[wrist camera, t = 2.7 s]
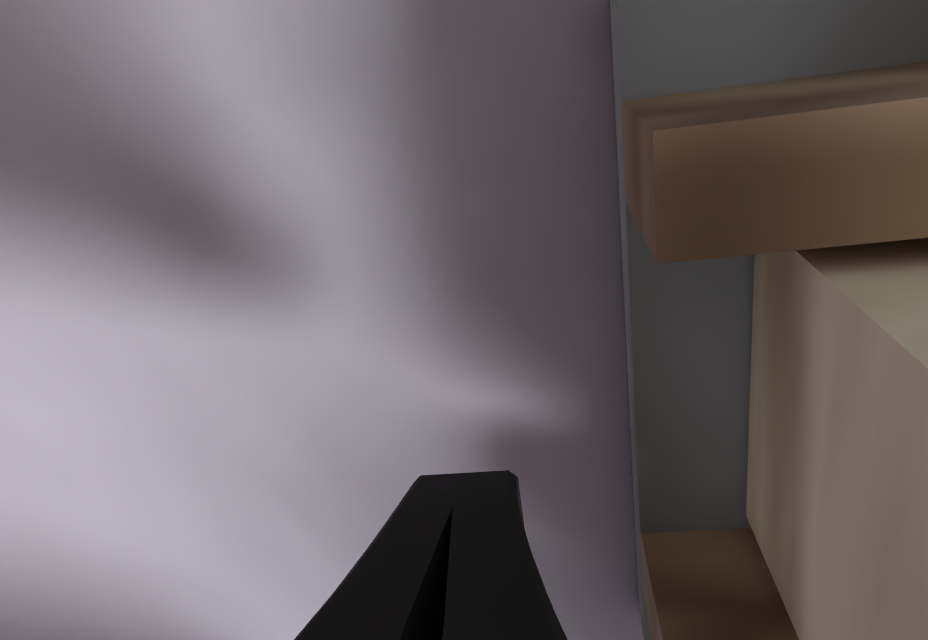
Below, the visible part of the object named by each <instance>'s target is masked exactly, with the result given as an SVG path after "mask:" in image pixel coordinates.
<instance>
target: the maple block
mask: <svg viewBox="0 0 928 640" xmlns="http://www.w3.org/2000/svg"><path fill="white" fill-rule="evenodd" d="M746 517H747V519H748V521H749V524H750V526H751V528H752V531H753V533H754V535H755V538H756V540H757V542H758V545H759V547H760V549H761V552H762V554H763V556H764V559H765V561H766V563H767V566H768V568H769V570H770V573H771V575H772V577H773V580H774V582H775V584H776V587H777V589H778V591H779V594H780V596H781V598H782V601H783V603H784V605H785V608H786V610H787V612H788V615H789V617H790V619H791V622H792V624H793V627H794V629H795V631H796V634H797V636H798V638H799V640H928V238H919V239H909V240H898V241H888V242H878V243H867V244H857V245H847V246H836V247H826V248H816V249H806V250H795V251H785V252H775V253H764V254H754V284H753V315H752V346H751V377H750V408H749V440H748V471H747V502H746Z"/></svg>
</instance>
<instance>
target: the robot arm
mask: <svg viewBox="0 0 928 640" xmlns="http://www.w3.org/2000/svg"><path fill="white" fill-rule="evenodd" d="M294 640H567V638H566V636H565V633H564V631H563V629H562V627H561V625H560V623H559V620H558V618H557V616H556V614H555V611H554V609H553V607H552V604H551V602H550V600H549V597H548V595H547V593H546V590H545V587H544V585H543V582H542V579H541V577H540V574H539V571H538V569H537V566H536V563H535V561H534V558H533V555H532V552H531V549H530V546H529V543H528V540H527V536H526V533H525V529H524V521H523V514H522V506H521V498H520V491H519V483H518V477H517V476H515V475H514V474H513V473H511V472H510V471H509V470H507V471H491V472H474V473H457V474H440V475H423V476H420V477H419V478H418V479H417V480H416V481H415V482H414V483H413V485H412V486H411V487H410V489H409V490H408V492H407V493H406V495H405V496H404V498H403V499H402V500H401V502H400V503H399V505H398V506H397V508H396V509H395V511H394V512H393V513H392V515H391V516H390V518H389V519H388V521H387V522H386V523H385V525H384V526H383V528H382V529H381V530H380V532H379V533H378V535H377V536H376V537H375V539H374V540H373V542H372V543H371V544H370V546H369V547H368V548H367V550H366V551H365V552H364V554H363V555H362V556H361V558H360V559H359V560H358V561H357V563H356V564H355V565H354V567H353V568H352V569H351V571H350V572H349V573H348V575H347V576H346V577H345V579H344V580H343V581H342V582H341V584H340V585H339V586H338V588H337V589H336V590H335V591H334V593H333V594H332V595H331V596H330V598H329V599H328V600H327V601H326V603H325V604H324V605H323V606H322V607H321V608H320V610H319V611H318V612H317V613H316V614H315V616H314V617H313V618H312V619H311V620H310V621H309V623H308V624H307V625H306V626H305V627H304V629H303V630H302V631H301V632H300V633H299V634H298V636H297V637H296V638H295V639H294Z"/></svg>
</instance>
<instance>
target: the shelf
mask: <svg viewBox="0 0 928 640" xmlns="http://www.w3.org/2000/svg"><path fill="white" fill-rule="evenodd" d="M610 16H611V37H612V57H613V78H614V99H615V120H616V141H617V162H618V183H619V203H620V224H621V245H622V266H623V287H624V308H625V328H626V349H627V370H628V391H629V412H630V433H631V453H632V474H633V495H634V516H635V537H636V558H637V578H638V599H639V612H640V617H641V623H642V628H643V634H644V639H645V640H799V638H798V636H797V634H796V631H795V629H794V627H793V624H792V622H791V619H790V617H789V615H788V612H787V610H786V608H785V605H784V603H783V601H782V598H781V596H780V594H779V591H778V589H777V587H776V584H775V582H774V580H773V577H772V575H771V573H770V570H769V568H768V566H767V563H766V561H765V559H764V556H763V554H762V552H761V549H760V547H759V545H758V542H757V540H756V538H755V535H754V533H753V531H752V528H751V526H750V524H749V521H748V519H747V517H746V502H747V471H748V440H749V408H750V377H751V346H752V315H753V284H754V254H764V253H775V252H785V251H795V250H806V249H816V248H826V247H836V246H847V245H857V244H867V243H878V242H888V241H898V240H909V239H919V238H928V0H610Z"/></svg>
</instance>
